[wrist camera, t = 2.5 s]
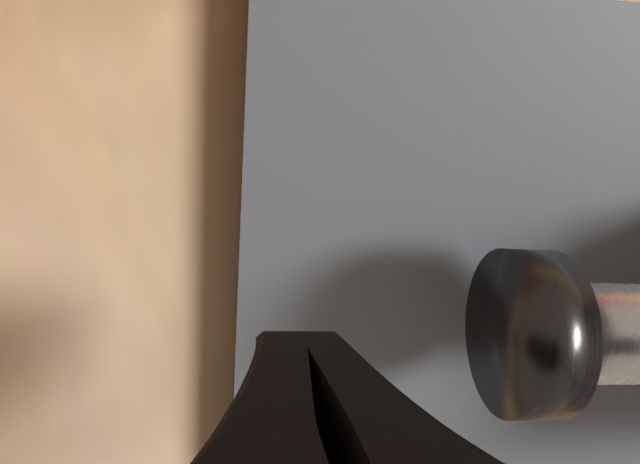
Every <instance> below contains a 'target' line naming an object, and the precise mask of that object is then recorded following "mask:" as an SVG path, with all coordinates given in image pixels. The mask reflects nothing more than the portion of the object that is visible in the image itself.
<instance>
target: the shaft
mask: <svg viewBox="0 0 640 464" xmlns="http://www.w3.org/2000/svg"><path fill="white" fill-rule="evenodd" d="M465 334H466V347H467V355H468V360H469V365H470V370H471V374H472V377H473V380H474V383H475V386H476V389H477V391H478V393H479V395H480V397H481V399H482V401H483V403H484V404H485V406H486V407H487V408H488V410H489V411H490V412H491V413H492V414H493V415H494V416H496V417H497V418H499V419H501V420H504V421H542V420H567V419H571V418H573V417H575V416H577V415H578V414H580V413H581V412H582V411H583V410H584V409H585V408H586V406H587V405H588V403H589V402H590V400H591V399H592V397H593V394H594V392H595V390H596V387H597V385H640V284H626V283H590V282H589V280H588V278H587V276H586V274H585V273H584V271H583V270H582V268H581V267H580V266H579V265H578V263H577V262H576V261H575V260H574V259H573V258H571V257H570V256H569V255H567V254H565V253H563V252H561V251H558V250H539V249H506V248H498V249H494V250H492V251H490V252H489V253H487V254H486V255H485V256H484V257H483V259H482V260H481V261H480V263H479V264H478V266H477V268H476V270H475V272H474V275H473V278H472V281H471V284H470V288H469V293H468V298H467V305H466V318H465Z"/></svg>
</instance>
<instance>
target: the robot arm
mask: <svg viewBox="0 0 640 464" xmlns="http://www.w3.org/2000/svg"><path fill="white" fill-rule="evenodd" d="M190 464H505V463H503V462H501V461H500V460H498V459H496V458H495V457H493V456H491V455H490V454H488V453H487V452H485V451H483V450H482V449H480V448H479V447H477V446H476V445H474V444H472V443H471V442H469V441H468V440H466V439H464V438H463V437H461V436H460V435H458V434H457V433H455V432H454V431H452V430H451V429H450V428H448V427H447V426H445V425H444V424H442V423H441V422H440V421H438V420H437V419H436V418H434V417H433V416H432V415H430V414H429V413H428V412H427V411H425V410H424V409H423V408H421V407H420V406H419V405H417V404H416V403H415V402H413V401H412V400H411V399H410V398H409V397H407V396H406V395H405V394H404V393H402V392H401V391H400V390H399V389H398V388H396V387H395V386H394V385H393V384H392V383H391V382H389V381H388V380H387V379H386V378H385V377H384V376H383V375H381V374H380V373H379V372H378V371H377V370H376V369H375V368H374V367H373V366H371V365H370V364H369V363H368V362H367V361H366V360H365V359H364V358H363V357H362V356H361V355H360V354H359V353H358V352H356V351H355V350H354V349H353V348H352V347H351V346H350V345H349V344H348V343H347V342H346V341H345V340H344V339H343V338H342V337H340V336H339V335H338V334H337V333H336V332H335V331H263V332H262V333H260V334H259V335H258V336H257V337H256V347H255V352H254V356H253V359H252V361H251V364H250V367H249V369H248V371H247V374H246V376H245V378H244V380H243V382H242V384H241V386H240V388H239V390H238V393H237V394H236V396H235V398H234V400H233V402H232V403H231V405H230V407H229V408H228V410H227V412H226V413H225V415H224V416H223V418H222V420H221V421H220V423H219V425H218V426H217V428H216V429H215V431H214V432H213V434H212V435H211V437H210V438H209V440H208V441H207V442H206V444H205V445H204V447H203V448H202V449H201V451H200V452H199V453H198V454H197V456H196V457H195V458H194V460H193V461H192V462H191V463H190Z"/></svg>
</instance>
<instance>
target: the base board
mask: <svg viewBox="0 0 640 464" xmlns="http://www.w3.org/2000/svg"><path fill="white" fill-rule="evenodd" d="M498 248H506V249H539V250H558V251H561V252H563V253H565V254H567V255H569V256H570V257H571V258H573V259H574V260H575V261H576V262H577V263H578V265H579V266H580V267H581V268H582V270H583V271H584V273H585V274H586V276H587V278H588V280H589V282H590V283H626V284H640V3H638V2H628V1H618V0H248V21H247V47H246V74H245V100H244V127H243V153H242V180H241V206H240V232H239V259H238V285H237V312H236V338H235V364H234V391H233V400H234V398H235V396H236V394H237V393H238V390H239V388H240V386H241V384H242V382H243V380H244V378H245V376H246V374H247V371H248V369H249V367H250V364H251V361H252V359H253V356H254V352H255V347H256V337H257V336H258V335H259V334H260V333H262V332H263V331H335V332H336V333H337V334H338V335H339V336H340V337H342V338H343V339H344V340H345V341H346V342H347V343H348V344H349V345H350V346H351V347H352V348H353V349H354V350H355V351H356V352H358V353H359V354H360V355H361V356H362V357H363V358H364V359H365V360H366V361H367V362H368V363H369V364H370V365H371V366H373V367H374V368H375V369H376V370H377V371H378V372H379V373H380V374H381V375H383V376H384V377H385V378H386V379H387V380H388V381H389V382H391V383H392V384H393V385H394V386H395V387H396V388H398V389H399V390H400V391H401V392H402V393H404V394H405V395H406V396H407V397H409V398H410V399H411V400H412V401H413V402H415V403H416V404H417V405H419V406H420V407H421V408H423V409H424V410H425V411H427V412H428V413H429V414H430V415H432V416H433V417H434V418H436V419H437V420H438V421H440V422H441V423H442V424H444V425H445V426H447V427H448V428H450V429H451V430H452V431H454V432H455V433H457V434H458V435H460V436H461V437H463V438H464V439H466V440H468V441H469V442H471V443H472V444H474V445H476V446H477V447H479V448H480V449H482V450H483V451H485V452H487V453H488V454H490V455H491V456H493V457H495V458H496V459H498V460H500V461H501V462H503V463H505V464H640V385H597V387H596V390H595V392H594V394H593V397H592V399H591V400H590V402H589V403H588V405H587V406H586V408H585V409H584V410H583V411H582V412H581V413H580V414H578V415H577V416H575V417H573V418H571V419H567V420H542V421H504V420H501V419H499V418H497V417H496V416H494V415H493V414H492V413H491V412H490V411H489V410H488V408H487V407H486V406H485V404H484V403H483V401H482V399H481V397H480V395H479V393H478V391H477V389H476V386H475V383H474V380H473V377H472V374H471V370H470V365H469V360H468V355H467V347H466V334H465V318H466V305H467V298H468V293H469V288H470V284H471V281H472V278H473V275H474V272H475V270H476V268H477V266H478V264H479V263H480V261H481V260H482V259H483V257H484V256H485V255H486V254H487V253H489V252H490V251H492V250H494V249H498Z"/></svg>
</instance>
